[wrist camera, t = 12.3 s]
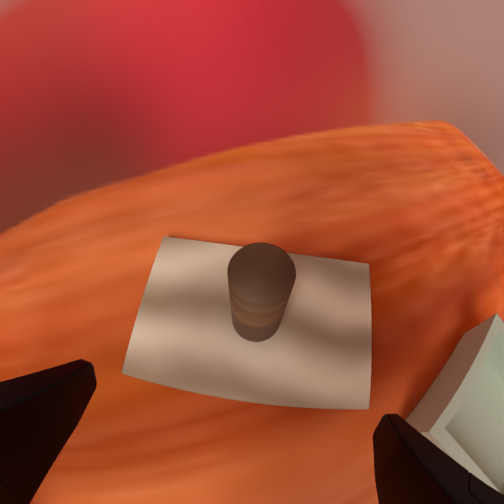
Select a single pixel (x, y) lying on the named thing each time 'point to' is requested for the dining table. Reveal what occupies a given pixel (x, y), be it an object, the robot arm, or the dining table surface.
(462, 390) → the grey rectangular tray
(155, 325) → the lid
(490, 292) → the dining table surface
